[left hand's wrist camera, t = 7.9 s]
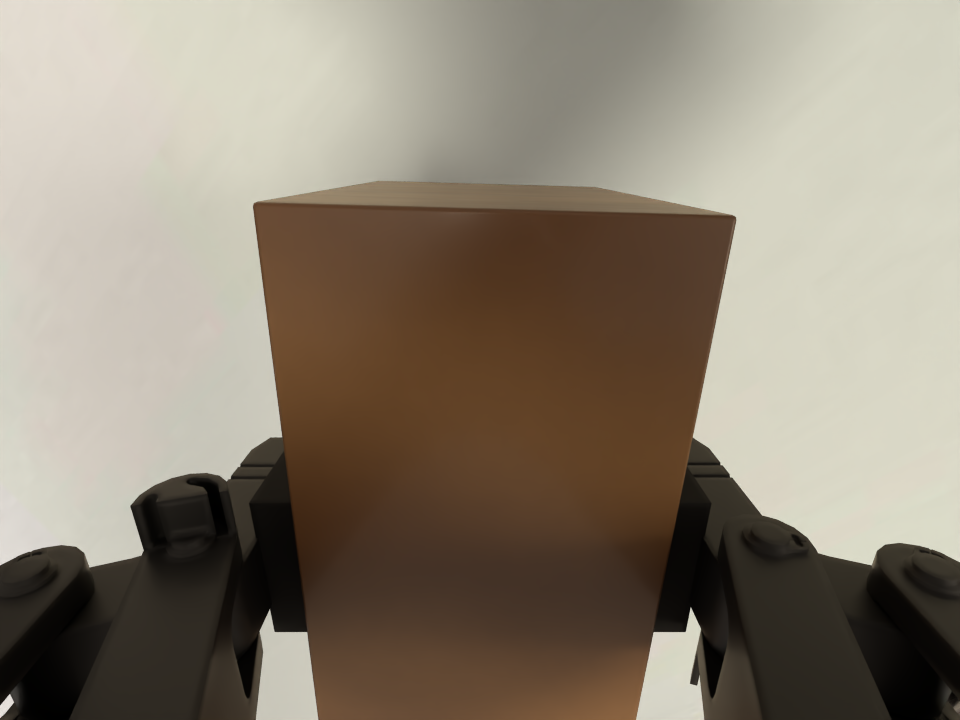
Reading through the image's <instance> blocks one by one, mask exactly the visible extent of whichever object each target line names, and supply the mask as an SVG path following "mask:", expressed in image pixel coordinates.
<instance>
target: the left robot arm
mask: <svg viewBox="0 0 960 720" xmlns="http://www.w3.org/2000/svg"><path fill="white" fill-rule="evenodd" d="M240 465H241V466H240V467H238V468H237V469H236V471H235V472H234V473H233V475H232V476H231V479H229V480H228V481H227V482H226V481H225V480H224V479H223V478H221V477H220V476H218V475H213V474H208V473H200V474H188V475H184V476H179V477H175V478H171V479H169V480H167V481H164V482H162V483H159V484H157V485H155V486H153V487H151V488H150V489H148V490H147V491H145V492H144V493H142V494H141V495H139V497H138V498H137V499H136V500H135V501H134V502H133V504H132V505H131V510H132V513H133V516H134V519H135V523H136V526H137V529H138V533H139V536H140V539H141V542H142V546H143V549H144V551H143V554H142V556H139V557H135V558H132V559H127V560H123V561H118V562H113V563H109V564H104V565H99V566H95V567H90V568H89V565H88V562H87V560H86V557H85V554H84V553H83V552H82V551H81V550H79V549H78V548H77V547H72V546H64V545H60V546H53V547H46V548H41V549H37V550H34V551H32V552H27V553H25V554H22V555H20V556H18V557H16V558H14V559H12V560H10V561H8V562H6V563H4V564H2V565H0V705H1V704H2V702H3V701H4V700H5V699H6V698H7V696H8V695H9V694H10V695H11V697H12V699H13V701H14V703H13V705H12V706H11V707H10V708H9V710H8V711H7V712H6V713H5V714H4V715H3V716H2V717H1V718H0V720H256V711H257V702H258V693H259V684H260V675H261V666H262V657H263V648H262V642H261V637H260V632H259V631H260V629H261V627H262V624H263V622H264V620H265V618H266V616H267V614H268V612H269V609H270V611H271V616H272V621H273V626H274V631H275V632H307V625H306V618H305V610H304V602H303V594H302V586H301V578H300V570H299V563H298V555H297V547H296V539H295V531H294V523H293V516H292V508H291V500H290V492H289V484H288V476H287V469H286V461H285V453H284V445H283V438H269V439H268V440H266V441H265V442H263V443H262V444H260V445H259V446H257V447H255V448H254V449H252V450H251V451H250V453H249V454H248V455H247V457H246V458H245V459H244V460H243V462H242V463H241V464H240ZM690 608H692V610H693V612H694V615H695V617H696V619H697V621H698V623H699V625H700V627H701V632H700V637H699V641H698V646H697V651H696V655H695V660H694V664H693V669H692V674H691V681H690V684H693V685H697V684H698V679H699V675H700V683H701V692H702V701H703V710H704V719H705V720H960V715H959V714H958V713H957V712H956V711H955V710H954V708H953V707H952V706H951V705H950V704H949V702H948V701H947V700H948V698H949V696H950V694H951V692H953V693H954V694H955V696H956V697H957V698H958V699H959V700H960V562H958V561H956V560H954V559H952V558H950V557H948V556H946V555H944V554H942V553H940V552H937V551H935V550H930V549H929V548H925V547H921V546H916V545H910V544H903V543H896V544H888V545H884V546H883V547H882V548H880V549H879V550H878V551H877V553H876V555H875V558H874V561H873V564H872V566H871V565H867V564H862V563H857V562H853V561H848V560H843V559H839V558H834V557H829V556H826V555H822V554H819V553H817V550H816V549H815V547H814V546H813V545H812V543H811V542H810V541H809V539H808V538H807V537H806V536H804V535H803V534H802V533H800V532H799V531H798V530H796V529H795V528H794V527H792V526H789V525H787V524H785V523H783V522H781V521H779V520H777V519H773V518H769V517H765V516H762V515H761V514H760V512H759V511H758V510H757V509H756V507H755V506H754V505H753V504H752V502H751V501H750V500H749V498H748V497H747V496H746V495H745V493H744V492H743V491H742V490H741V488H740V487H739V486H738V484H737V483H736V482H735V481H734V479H733V478H730V474H729V473H728V472H727V471H726V469H725V468H724V467H723V465H720V462H719V460H718V459H717V458H716V457H715V455H714V454H713V453H712V451H711V450H710V449H709V448H708V447H706V446H705V445H703V444H702V443H700V442H698V441H697V440H695V439H694V438H692V443H691V448H690V453H689V458H688V463H687V468H686V473H685V478H684V482H683V487H682V492H681V497H680V502H679V507H678V512H677V517H676V522H675V527H674V532H673V537H672V542H671V547H670V552H669V557H668V562H667V567H666V572H665V577H664V582H663V587H662V592H661V597H660V602H659V607H658V612H657V617H656V622H655V627H654V632H686V628H687V623H688V618H689V613H690Z"/></svg>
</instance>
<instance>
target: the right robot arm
mask: <svg viewBox="0 0 960 720" xmlns="http://www.w3.org/2000/svg"><path fill="white" fill-rule="evenodd" d="M947 701H948V702H949V704H950V705H951V706H952V707H953V708H954V710H955V711H956V712H957V713H958V714H959V715H960V700H959V699H958V698H957V697H956V696H955V694H954V693H953V692H951V694H950V696H949V698H948V700H947Z"/></svg>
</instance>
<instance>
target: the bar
mask: <svg viewBox="0 0 960 720" xmlns="http://www.w3.org/2000/svg"><path fill="white" fill-rule="evenodd" d="M253 210H254V218H255V225H256V233H257V241H258V249H259V257H260V265H261V273H262V280H263V288H264V296H265V304H266V312H267V320H268V327H269V335H270V343H271V351H272V359H273V367H274V374H275V382H276V390H277V398H278V406H279V414H280V422H281V429H282V437H283V445H284V453H285V461H286V469H287V476H288V484H289V492H290V500H291V508H292V516H293V523H294V531H295V539H296V547H297V555H298V563H299V570H300V578H301V586H302V594H303V602H304V610H305V618H306V625H307V633H308V641H309V649H310V657H311V665H312V672H313V680H314V688H315V696H316V704H317V712H318V719H319V720H636V716H637V711H638V706H639V701H640V696H641V691H642V686H643V681H644V676H645V671H646V667H647V662H648V657H649V652H650V647H651V642H652V637H653V632H654V627H655V622H656V617H657V612H658V607H659V602H660V597H661V592H662V587H663V582H664V577H665V572H666V567H667V562H668V557H669V552H670V547H671V542H672V537H673V532H674V527H675V522H676V517H677V512H678V507H679V502H680V497H681V492H682V487H683V482H684V478H685V473H686V468H687V463H688V458H689V453H690V448H691V443H692V438H693V433H694V428H695V423H696V418H697V413H698V408H699V403H700V398H701V393H702V388H703V383H704V378H705V373H706V368H707V363H708V358H709V353H710V348H711V343H712V338H713V333H714V328H715V323H716V318H717V313H718V308H719V303H720V298H721V293H722V289H723V284H724V279H725V274H726V269H727V264H728V259H729V254H730V249H731V244H732V239H733V234H734V229H735V224H736V217H735V216H733V215H729V214H724V213H719V212H714V211H710V210H705V209H700V208H695V207H690V206H685V205H680V204H675V203H670V202H665V201H660V200H656V199H651V198H646V197H641V196H636V195H631V194H626V193H621V192H616V191H611V190H606V189H602V188H597V187H572V186H537V185H502V184H467V183H432V182H397V181H376V182H370V183H364V184H358V185H352V186H347V187H341V188H335V189H329V190H323V191H317V192H312V193H306V194H300V195H294V196H288V197H282V198H277V199H271V200H265V201H259V202H256V203H254V205H253Z"/></svg>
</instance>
